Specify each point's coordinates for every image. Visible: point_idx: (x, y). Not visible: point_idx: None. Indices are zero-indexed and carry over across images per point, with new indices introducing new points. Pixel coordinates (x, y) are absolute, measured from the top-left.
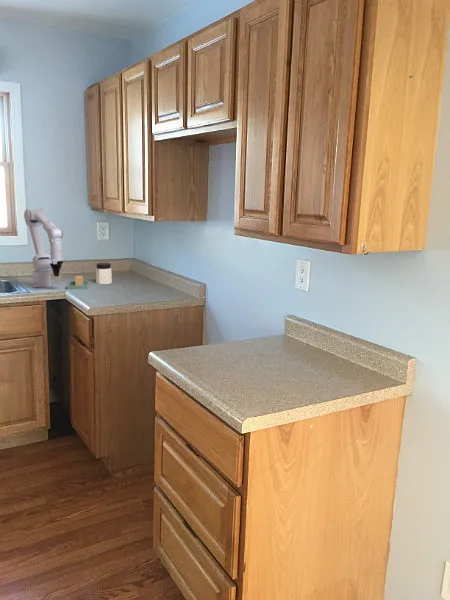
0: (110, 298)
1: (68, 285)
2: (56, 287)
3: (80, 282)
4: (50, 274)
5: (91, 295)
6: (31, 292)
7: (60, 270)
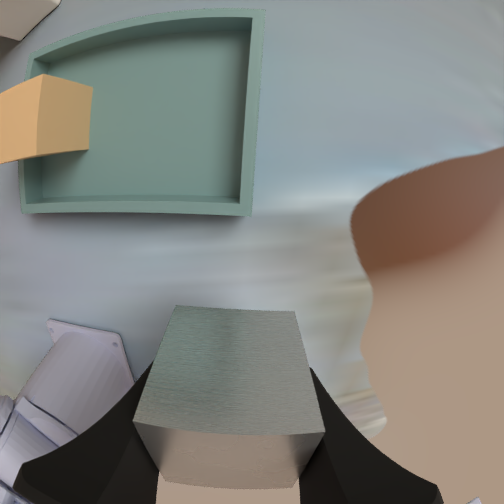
0: (496, 12)
1: (211, 202)
2: (118, 297)
3: (74, 101)
4: (43, 381)
5: (457, 53)
6: None
7: (317, 415)
